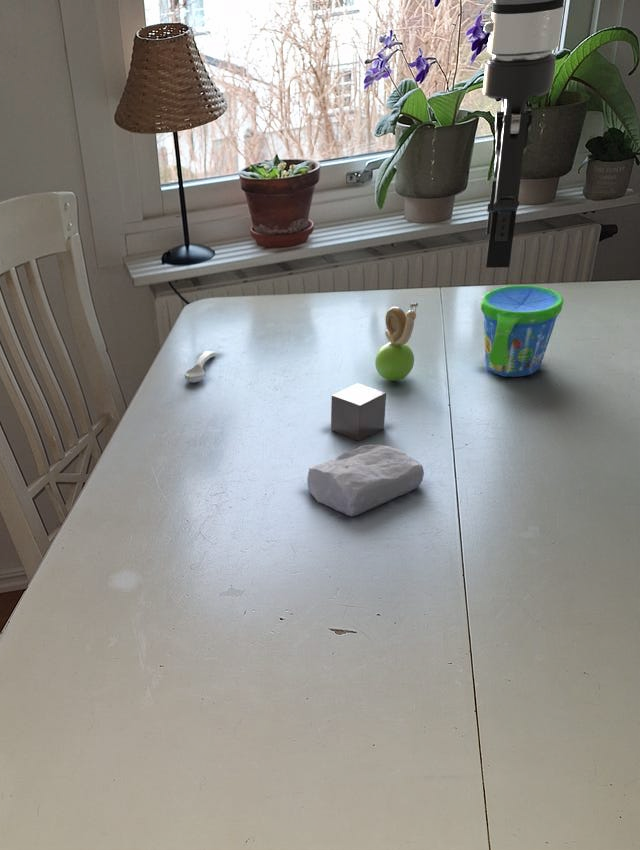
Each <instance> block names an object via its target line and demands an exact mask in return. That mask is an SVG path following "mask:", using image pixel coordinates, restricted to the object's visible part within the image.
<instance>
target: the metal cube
mask: <svg viewBox="0 0 640 850" xmlns="http://www.w3.org/2000/svg"><path fill="white" fill-rule="evenodd" d="M386 402H387V392H384V391H381V390H379V389H376V388H373V387H370V386H367V385H364V384H361V383H359V382H358V383H357V382H356V383H354V384H353V385H350V386H348V387H346V388H344V389H342V390H340V391H338V392H335V393H333V394H332V395H331V405H330V406H331V408H330V410H331V413H330V431H332V432H335V433H337V434H340V435H342V436H345V437H347V438H350V439H352V440H355V441H357V442H360V441H361V440H363V439H366V438H368V437H369V436H371V435H374V434H375V433H377V432H380V431H381V430H383V429H384V428H385V421H386V420H385V419H386Z"/></svg>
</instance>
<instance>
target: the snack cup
mask: <svg viewBox="0 0 640 850" xmlns="http://www.w3.org/2000/svg"><path fill="white" fill-rule="evenodd" d="M563 305H564V298H563V296H562V295H561V293H559V292H558V291H556V290H554V289H551V288H547V287H543V286H537V285H528V284H527V285H524V284H523V285H508V286H502V287H498V288H493V289H492V290H490V291H488V292H486V293H485V294H484V295H483V296H482V300H481V303H480V310H481V312H482V314H483V318H484V319H483V337H484V338H483V343H484V347H483V348H484V363H485V369H486V370H487V371H491V372H492V373H493V374H495V375H498V376H501V377H505V378H506V377H511V378H516V377H525V376H531V375H533V374H534V373H535V372H537V371H538V370H539V368H540V366H541V365H542V362H543V359H544V357H545V353H546V351H547V347H548V345H549V342H550V339H551V337H552V333H553V330H554V327H555V323H556V320H557V318H558V316H559V315H560V313H561V311H562V310H563Z"/></svg>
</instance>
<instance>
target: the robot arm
mask: <svg viewBox="0 0 640 850" xmlns="http://www.w3.org/2000/svg"><path fill="white" fill-rule="evenodd" d="M564 4H565V0H492V4H491V5H492V6H491V16H490V18H491V21H488V22H485V24H484V26H483V31H484V33H490V34H489V36H488V42H487V52H488V53H489V54H490V55H492V57H489V58H488V59H487V61H486V62H485V68H484V75H483V76H484V77H483V85H482V86H483V87H482V94H483V95H484V96H485V97H486V98H489V99H494V100H501V111H500V110H499V111H498V110H497V111H496V112H495V118H494V119H495V121H494V133H495V135H494V137H495V138H494V142H495V150H494V151H495V152H494V154H495V158H494V161H493V164H492V166H493V171H492V177H493V179H492V181H491V190H490V197H489V203H488V204H487V209H486V212H487V213H488V214H487V224H486V231H485V232H486V233H485V234H486V235H488V243H487V252H486V262H485V268H487V269H489V268H510V264H511V262H510V261H511V258H512V257H511V256H512V248H513V241H514V233H515V226H516V219H517V212H518V211H517V210H518V208H519V206H520V201H519V197H520V187H521V179H522V178H521V177H522V171H523V161H524V160H523V159H524V154H525V153H526V152H527V147H528V139H529V132H530V130H531V127H532V122H533V113H532V108H531V109H530V108H529V109H527V102H528V99H529V98H536V97H541V96H544V95H546V94H548V93H549V92H550V91H551V90H552V87H553V81H554V74H555V68H556V61H557V57H556V56H555V54H553V53H552V52H553V51H555V50H556V49H557V48H558V46H559V45H560V44H559V43H560V38H561V30H562V25H563V24H562V22H563V16H564V8H565V5H564Z"/></svg>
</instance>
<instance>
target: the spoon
mask: <svg viewBox="0 0 640 850" xmlns="http://www.w3.org/2000/svg"><path fill="white" fill-rule="evenodd" d="M215 356H216V351H214V350H204V351H203V352H202V354H201V355H200V356H199V358H198V360H197V361H196V363H195V365H194V366H193V367H192V368H190V369H188V370H186V371H185V373H184V379H185V380H186V381H187V382H188V383H198V382H200V381H201V380H203V379H204V377H205V370H204V369H203V366H204V365H205V363H206V362H207V361H208V360H210V359H211V358H213V357H215Z"/></svg>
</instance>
